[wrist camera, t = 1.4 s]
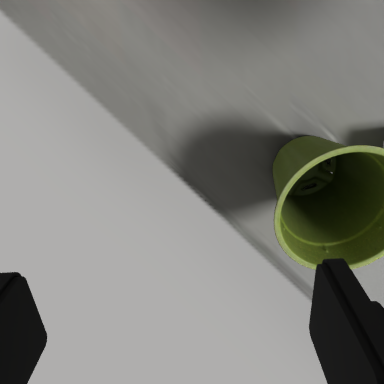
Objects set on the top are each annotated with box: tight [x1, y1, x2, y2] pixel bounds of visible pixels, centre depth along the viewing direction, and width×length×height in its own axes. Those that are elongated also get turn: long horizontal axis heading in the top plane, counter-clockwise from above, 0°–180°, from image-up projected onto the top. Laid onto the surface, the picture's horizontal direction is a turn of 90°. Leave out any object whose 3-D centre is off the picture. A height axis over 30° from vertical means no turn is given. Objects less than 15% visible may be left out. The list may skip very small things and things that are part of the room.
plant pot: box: [272, 136, 384, 270], centre depth 32 cm, size 12×12×11 cm
